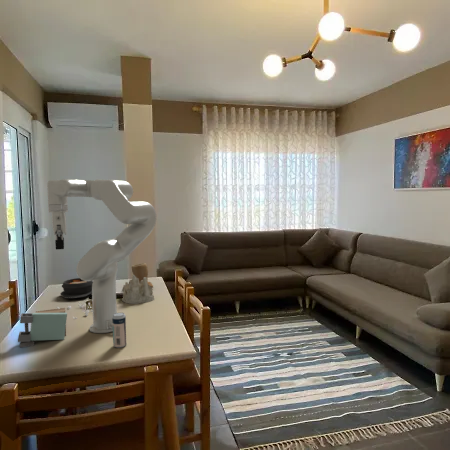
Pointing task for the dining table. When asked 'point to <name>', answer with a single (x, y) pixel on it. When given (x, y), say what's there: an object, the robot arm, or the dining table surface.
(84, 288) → the casserole
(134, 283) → the grey castle model
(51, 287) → the dining table surface
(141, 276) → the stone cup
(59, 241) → the robot arm
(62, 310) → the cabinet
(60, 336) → the door
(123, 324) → the beer can
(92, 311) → the game piece set
